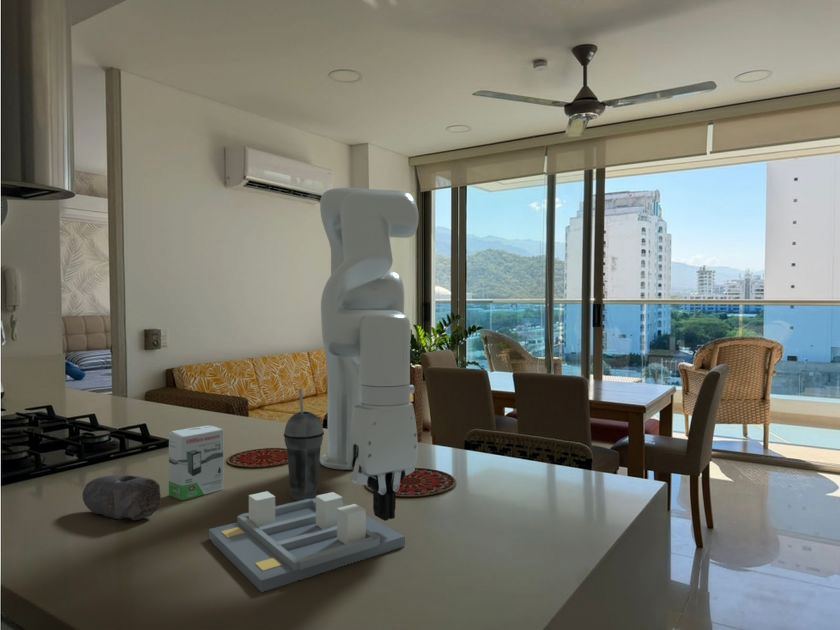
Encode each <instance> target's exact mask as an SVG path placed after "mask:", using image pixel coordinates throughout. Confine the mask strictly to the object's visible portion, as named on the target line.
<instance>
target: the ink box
mask: <svg viewBox="0 0 840 630" xmlns="http://www.w3.org/2000/svg"><path fill="white" fill-rule="evenodd" d="M168 433H169V434H168V496H170V497H172V498H175V499H177V500H180V501H186V500H190V499H194V498H197V497H201V496H205V495H208V494H211V493H212V494H213V493H216V492H219V491H222V490H224V429H223V428H221V427H218V426H214V425H202V426H201V425H200V426H195V427H188V428H184V429H176V430H172V431H171V432H168Z"/></svg>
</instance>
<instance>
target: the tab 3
mask: <svg viewBox="0 0 840 630" xmlns="http://www.w3.org/2000/svg"><path fill="white" fill-rule="evenodd" d="M347 505H348V506H344V507H340V508H337V539H338V540H339V541H341V542H342V543H344V544H348V543H352V542H355V541H359V540H362V539H365V538H366V515H367V513H366V512H367V509H365V508H363V507H362V506H360V505H358V504H356V503H353V504H350V505H349V504H347Z"/></svg>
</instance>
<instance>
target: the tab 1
mask: <svg viewBox="0 0 840 630" xmlns="http://www.w3.org/2000/svg"><path fill="white" fill-rule="evenodd" d="M275 506H276V496H275V495H274V494H272V493H270V491H268V490H265V491H262V492H258V493H253V494H248V513H249V520H250V521H251V522H252V523H253V524H254V525H256V526H257V527H261V526H265V525H269V524H273V523H275Z"/></svg>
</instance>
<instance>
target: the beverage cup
mask: <svg viewBox="0 0 840 630" xmlns="http://www.w3.org/2000/svg"><path fill="white" fill-rule="evenodd" d="M298 393H299V394H298V395H299V408H300V411H298V412H296V413H295V414H293V415H292V416H291V417H289V419H288V420H287V422H286V424H285V428H284V433H283V437H284V444H285V447H286V453H287V454H286V455H287V467H288V477H289V489H290V495H291V499H292V500H295V501H301V500H305V499H313V498H314V499H316V496H317V492H318V485H319V484H318V483H319V475H320V473H319V472H320V463H321V450H322V448H321V447H322V445H323V438H324V435H325V433H324V432H325V431H324V428H323V427H324V426H323V423H322V422H321V420H320V418H319V417H318V416H317V415H316V414H314V413H313V412H311V411H304V403H303V388H299V390H298Z"/></svg>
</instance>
